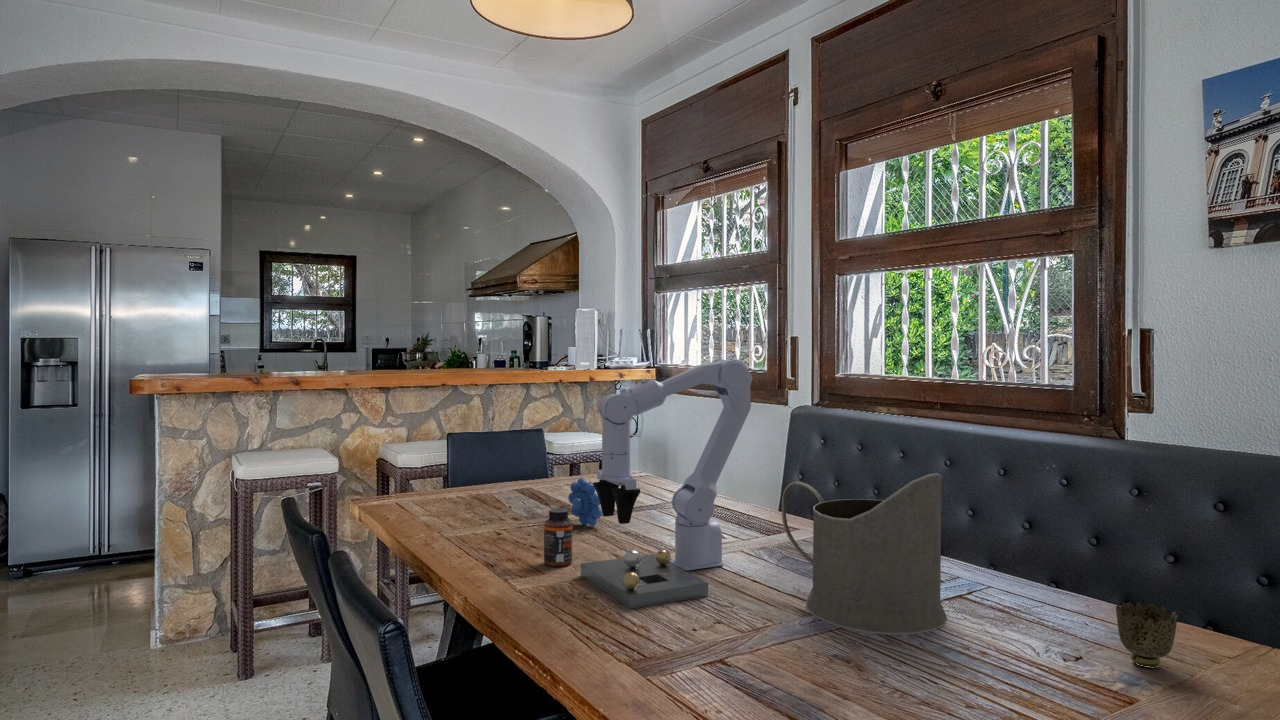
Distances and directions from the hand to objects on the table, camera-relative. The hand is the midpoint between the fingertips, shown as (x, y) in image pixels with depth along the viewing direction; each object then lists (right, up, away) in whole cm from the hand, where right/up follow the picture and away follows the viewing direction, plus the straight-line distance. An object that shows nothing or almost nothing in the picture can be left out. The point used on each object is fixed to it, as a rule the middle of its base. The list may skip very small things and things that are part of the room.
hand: (616, 519), depth 155 cm
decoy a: (+10, -7, -5) cm, 12 cm away
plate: (+5, -11, -10) cm, 15 cm away
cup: (+78, -11, -46) cm, 91 cm away
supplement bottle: (-12, -11, +5) cm, 17 cm away
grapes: (-10, -10, +39) cm, 42 cm away
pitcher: (+43, -11, -20) cm, 49 cm away
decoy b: (+3, -7, -20) cm, 21 cm away
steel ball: (+3, -6, -7) cm, 10 cm away
